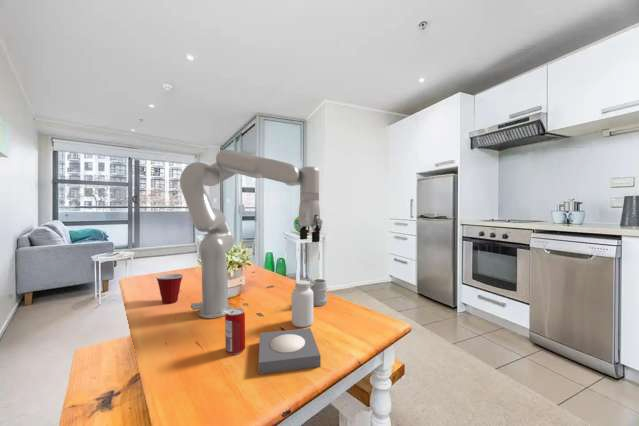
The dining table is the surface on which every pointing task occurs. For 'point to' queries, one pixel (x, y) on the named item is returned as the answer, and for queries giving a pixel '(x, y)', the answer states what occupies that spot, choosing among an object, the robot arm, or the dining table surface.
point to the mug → (319, 292)
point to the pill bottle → (302, 304)
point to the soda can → (235, 330)
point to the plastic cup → (169, 287)
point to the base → (287, 351)
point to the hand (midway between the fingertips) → (309, 240)
